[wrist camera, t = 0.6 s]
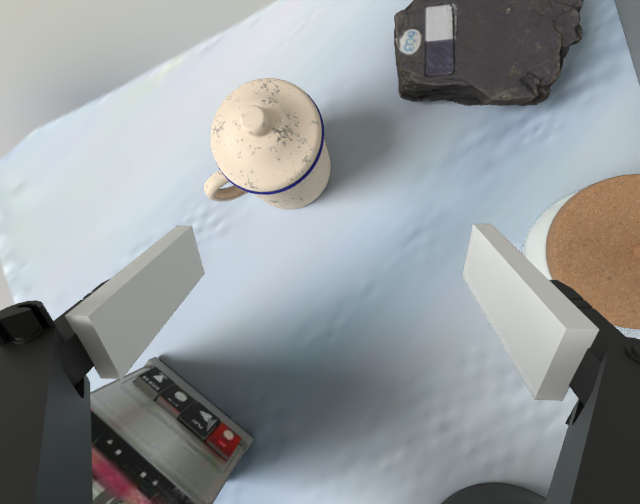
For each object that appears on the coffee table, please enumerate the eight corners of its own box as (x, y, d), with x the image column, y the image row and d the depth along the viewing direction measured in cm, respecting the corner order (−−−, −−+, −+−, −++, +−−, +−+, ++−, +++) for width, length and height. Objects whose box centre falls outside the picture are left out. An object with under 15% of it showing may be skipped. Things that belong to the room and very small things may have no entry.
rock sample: (483, -58, 31) (507, -119, 26) (605, 42, 29) (655, -3, 24) (356, 68, 32) (356, 32, 27) (465, 172, 30) (486, 154, 25)
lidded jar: (479, 239, 29) (534, 228, 20) (578, 175, 28) (685, 132, 19) (548, 333, 28) (640, 368, 19) (654, 270, 27) (806, 274, 18)
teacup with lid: (305, 111, 32) (275, 25, 21) (349, 182, 31) (344, 135, 20) (213, 172, 33) (135, 123, 22) (253, 242, 32) (194, 231, 21)
